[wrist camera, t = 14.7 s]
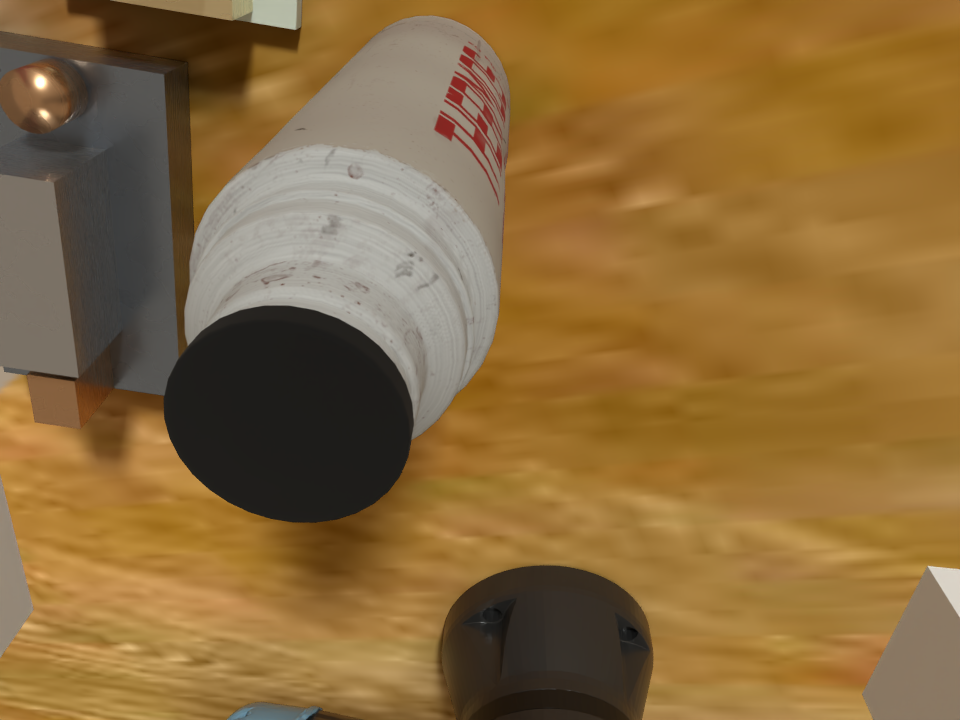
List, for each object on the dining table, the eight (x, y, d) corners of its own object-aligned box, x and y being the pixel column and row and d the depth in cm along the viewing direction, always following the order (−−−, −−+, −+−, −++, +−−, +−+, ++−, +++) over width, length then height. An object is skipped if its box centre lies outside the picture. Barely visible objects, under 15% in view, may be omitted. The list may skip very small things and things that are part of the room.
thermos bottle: (481, -10, 37) (404, 184, 13) (530, 154, 41) (541, 539, 17) (324, 47, 38) (-7, 312, 14) (385, 199, 42) (204, 611, 18)
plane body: (198, 370, 48) (145, 450, 41) (32, 345, 48) (-50, 422, 41) (187, 62, 39) (116, 99, 32) (-19, 28, 39) (-136, 58, 32)
